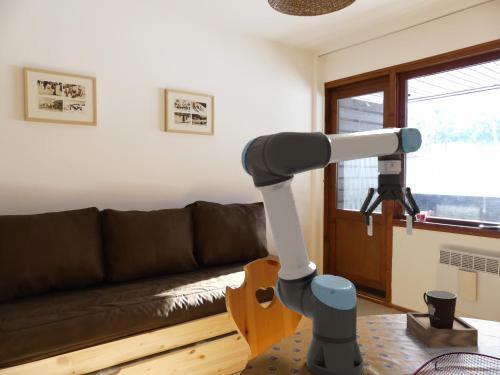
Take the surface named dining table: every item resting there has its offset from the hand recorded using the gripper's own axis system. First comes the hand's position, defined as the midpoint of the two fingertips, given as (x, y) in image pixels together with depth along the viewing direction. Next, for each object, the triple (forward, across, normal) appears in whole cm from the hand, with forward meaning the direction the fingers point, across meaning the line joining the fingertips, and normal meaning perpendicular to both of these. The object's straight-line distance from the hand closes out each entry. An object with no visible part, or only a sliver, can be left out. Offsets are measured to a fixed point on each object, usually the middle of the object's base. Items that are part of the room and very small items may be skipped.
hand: (389, 234), depth 132 cm
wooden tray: (+31, +11, -12) cm, 35 cm away
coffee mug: (+27, +11, -12) cm, 32 cm away
